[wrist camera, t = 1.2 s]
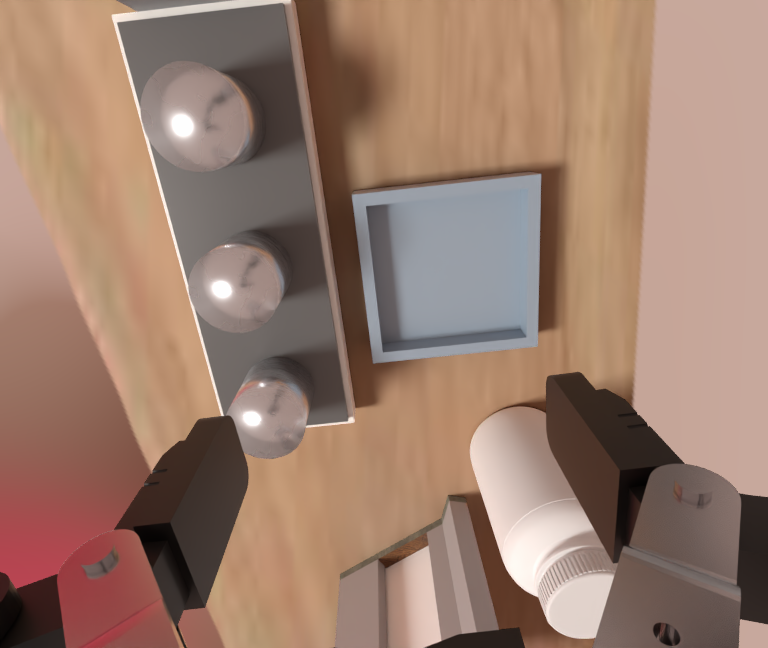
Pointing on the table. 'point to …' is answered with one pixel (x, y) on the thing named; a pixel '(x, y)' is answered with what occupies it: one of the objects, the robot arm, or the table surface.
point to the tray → (450, 265)
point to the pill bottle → (541, 521)
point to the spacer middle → (240, 282)
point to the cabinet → (418, 588)
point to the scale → (251, 186)
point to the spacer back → (272, 407)
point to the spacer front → (201, 117)
